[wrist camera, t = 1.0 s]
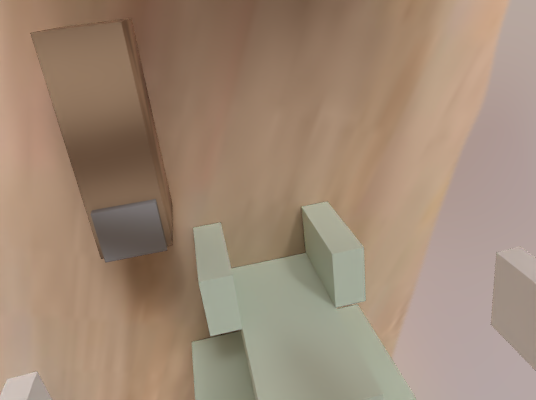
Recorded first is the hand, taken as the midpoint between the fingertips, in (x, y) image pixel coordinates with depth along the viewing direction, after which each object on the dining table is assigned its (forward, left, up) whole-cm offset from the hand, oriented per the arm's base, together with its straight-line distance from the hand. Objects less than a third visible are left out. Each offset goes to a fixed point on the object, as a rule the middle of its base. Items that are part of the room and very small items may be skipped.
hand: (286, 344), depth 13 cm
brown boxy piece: (-3, -6, -19) cm, 20 cm away
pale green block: (+12, +2, -19) cm, 23 cm away
